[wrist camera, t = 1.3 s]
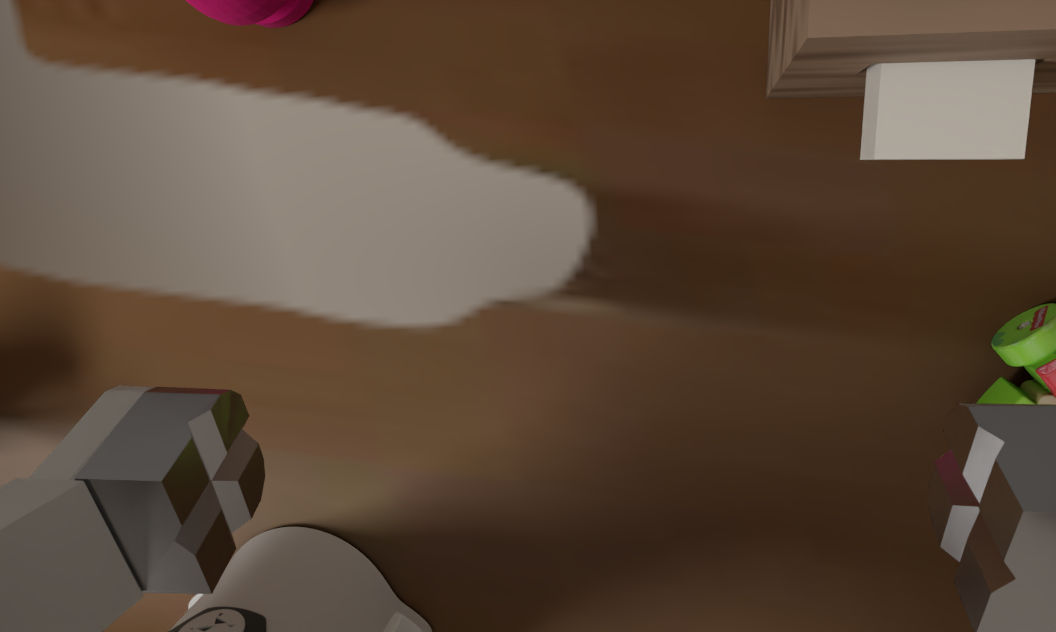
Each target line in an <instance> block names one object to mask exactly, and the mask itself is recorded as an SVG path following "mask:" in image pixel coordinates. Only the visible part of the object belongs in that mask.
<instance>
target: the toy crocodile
mask: <svg viewBox="0 0 1056 632" xmlns="http://www.w3.org/2000/svg"><path fill="white" fill-rule="evenodd" d="M991 345H992V347H993V349H994V350H995V351H996V352H997V353H998V354H999V355H1000V357H1001V358H1002V359H1003V360H1004V361H1005V363H1007V364H1008V365H1010V366H1013V367H1020V366H1024V367H1025V369H1026V370H1027V371H1028V372H1029V373H1030V375H1031V376H1032V377H1033V378H1034V380H1029V381H1025V382H1023V383H1022V384H1021V386H1020V388H1019V387H1017V386H1015V385H1014V384H1012V383H1011V382H1009V381H1008V380H1006V379H1005V378H1003V377H1000V378H999V379H998V380H997V381H996V382H995V383H994V384H993V385H992V386H991V387H990V388H989V389H988V390H987V391H986V392H985V393H984V394H983V395H982V397H981V398H980V399H979V400H978V401H977V403H987V404H1053V405H1056V304H1055V303H1049V304H1043V305H1039V306H1037V307H1034V308H1031V309H1029V310H1027V311H1025V312H1023V313H1021V314H1019V315H1018V316H1016V317H1015V318H1013V319H1012V320H1010V321H1009V322H1007V323H1006V324H1005V325H1004V326H1003V327H1002V328H1000V329H999V330H998V332H997V333H996V334H995V335H994V337H993V339H992V344H991Z"/></svg>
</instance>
